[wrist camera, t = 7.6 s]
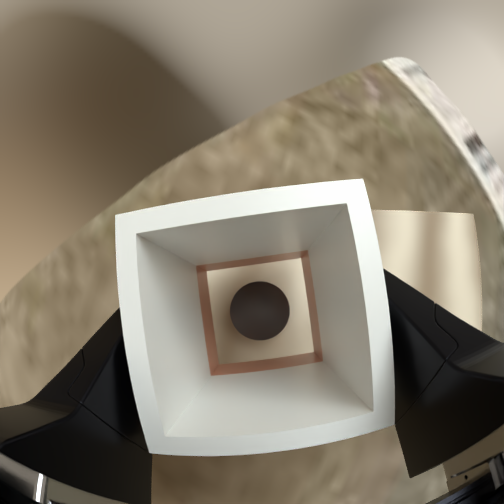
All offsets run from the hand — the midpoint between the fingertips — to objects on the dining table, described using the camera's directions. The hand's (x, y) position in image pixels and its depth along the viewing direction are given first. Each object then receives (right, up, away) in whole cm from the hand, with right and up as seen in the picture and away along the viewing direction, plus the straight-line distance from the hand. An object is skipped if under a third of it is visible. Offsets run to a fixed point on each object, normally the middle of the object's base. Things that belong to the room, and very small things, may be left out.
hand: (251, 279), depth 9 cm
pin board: (+7, -3, +9) cm, 12 cm away
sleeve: (0, -2, +6) cm, 6 cm away
